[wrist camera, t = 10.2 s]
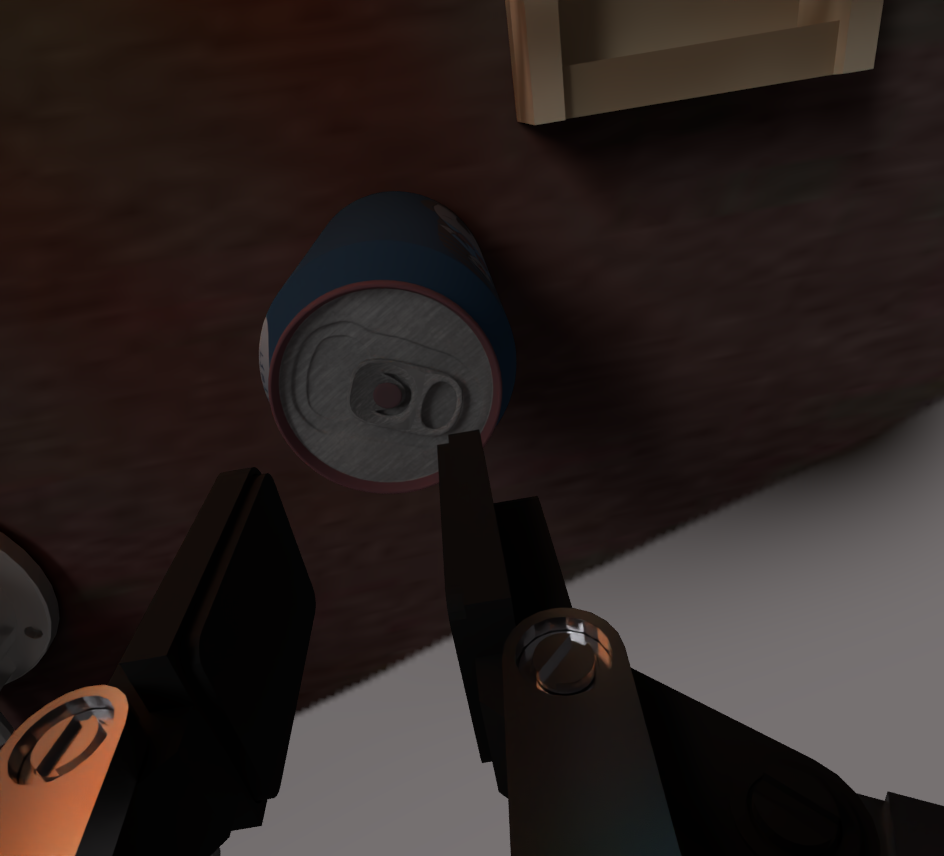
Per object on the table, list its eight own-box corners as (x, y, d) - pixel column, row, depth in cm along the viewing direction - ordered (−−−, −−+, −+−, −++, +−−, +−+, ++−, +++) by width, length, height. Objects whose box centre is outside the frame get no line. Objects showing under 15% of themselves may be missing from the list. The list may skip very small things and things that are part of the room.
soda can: (303, 331, 26) (226, 486, 16) (331, 164, 23) (259, 217, 13) (458, 368, 28) (481, 533, 17) (503, 214, 25) (566, 300, 14)
